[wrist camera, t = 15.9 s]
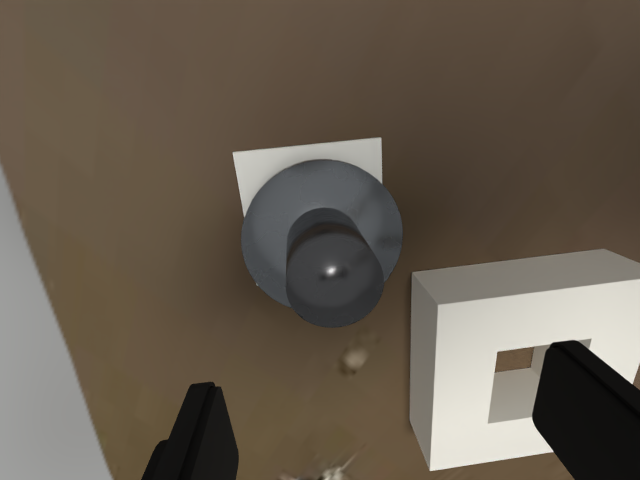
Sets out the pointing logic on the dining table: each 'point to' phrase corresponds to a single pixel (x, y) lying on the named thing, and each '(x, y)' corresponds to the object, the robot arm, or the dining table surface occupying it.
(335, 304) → the grey round knobbed piece
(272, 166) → the mat
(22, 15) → the dining table surface
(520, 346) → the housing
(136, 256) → the dining table surface
